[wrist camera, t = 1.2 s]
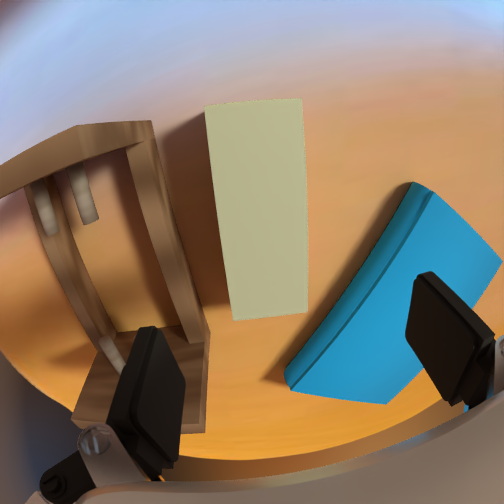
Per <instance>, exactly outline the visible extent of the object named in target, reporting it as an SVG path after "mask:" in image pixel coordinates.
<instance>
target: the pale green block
mask: <svg viewBox="0 0 504 504" xmlns="http://www.w3.org/2000/svg"><path fill="white" fill-rule="evenodd" d="M204 111H205V120H206V129H207V137H208V146H209V154H210V163H211V171H212V179H213V186H214V194H215V202H216V209H217V216H218V224H219V231H220V238H221V245H222V252H223V258H224V265H225V272H226V278H227V285H228V291H229V297H230V304H231V310H232V316H233V321H238V320H248V319H257V318H265V317H274V316H282V315H289V314H297V313H304V312H307V311H308V209H307V179H306V157H305V139H304V124H303V110H302V98H293V99H269V100H254V101H242V102H232V103H223V104H214V105H207V106H204Z"/></svg>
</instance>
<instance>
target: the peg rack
mask: <svg viewBox="0 0 504 504" xmlns="http://www.w3.org/2000/svg"><path fill="white" fill-rule="evenodd" d="M124 147H125V149H126V153H127V157H128V161H129V165H130V169H131V173H132V177H133V180H134V184H135V188H136V191H137V195H138V199H139V202H140V206H141V209H142V212H143V216H144V219H145V222H146V226H147V229H148V232H149V235H150V238H151V241H152V244H153V247H154V251H155V254H156V256H157V259H158V262H159V265H160V268H161V271H162V274H163V277H164V279H165V282H166V285H167V288H168V290H169V293H170V296H171V298H172V301H173V304H174V306H175V309H176V311H177V314H178V317H179V319H180V322H181V324H182V325H179V326H171V327H164V328H157V329H161V330H162V332H163V334H164V336H165V338H166V341H167V343H168V345H169V347H170V349H171V351H172V353H173V355H174V357H175V360H176V362H177V364H178V366H179V368H180V370H181V372H182V374H183V376H184V378H185V381H186V389H185V398H184V406H183V415H182V425H181V434H193V433H205V423H206V400H207V380H208V363H209V347H210V330H209V327H208V324H207V321H206V318H205V315H204V312H203V309H202V306H201V303H200V300H199V297H198V294H197V291H196V288H195V284H194V281H193V278H192V275H191V272H190V268H189V265H188V262H187V259H186V255H185V252H184V248H183V245H182V242H181V238H180V235H179V231H178V228H177V224H176V220H175V217H174V213H173V209H172V206H171V202H170V198H169V194H168V190H167V186H166V182H165V178H164V174H163V170H162V166H161V162H160V158H159V153H158V149H157V145H156V140H155V136H154V131H153V127H152V122H151V120H147V121H123V122H107V123H95V124H85V125H76V126H74V127H71V128H69V129H67V130H65V131H63V132H61V133H58V134H56V135H54V136H52V137H50V138H48V139H46V140H44V141H42V142H40V143H39V144H37V145H35V146H33V147H31V148H29V149H27V150H26V151H24V152H22V153H20V154H19V155H17V156H15V157H13V158H12V159H10V160H8V161H7V162H5V163H4V164H2V165H0V199H1V198H3V197H5V196H7V195H9V194H11V193H13V192H15V191H17V190H19V189H21V188H23V187H24V190H25V193H26V196H27V200H28V203H29V206H30V209H31V212H32V215H33V218H34V221H35V224H36V226H37V229H38V232H39V235H40V237H41V240H42V242H43V245H44V247H45V250H46V252H47V255H48V257H49V259H50V262H51V264H52V266H53V269H54V271H55V273H56V275H57V277H58V280H59V282H60V284H61V286H62V288H63V290H64V292H65V294H66V296H67V298H68V300H69V302H70V304H71V306H72V308H73V310H74V311H75V313H76V315H77V317H78V319H79V321H80V322H81V324H82V326H83V328H84V329H85V331H86V333H87V335H88V336H89V338H90V340H91V341H92V343H93V345H94V346H95V348H96V349H97V351H98V353H97V355H96V357H95V360H94V362H93V364H92V366H91V369H90V371H89V374H88V376H87V378H86V381H85V383H84V386H83V388H82V391H81V393H80V396H79V398H78V401H77V404H76V406H75V409H74V412H73V414H72V417H71V420H72V421H73V422H74V423H75V424H76V425H77V426H78V427H79V428H81V429H85V428H86V427H88V426H89V425H92V424H94V423H104V424H105V423H106V419H107V416H108V413H109V409H110V406H111V403H112V400H113V397H114V393H115V390H116V387H117V384H118V381H119V378H120V375H121V372H122V369H123V367H124V365H126V362H127V359H128V357H129V354H130V351H131V348H132V345H133V343H134V340H135V337H136V334H137V332H138V331H129V332H119V333H117V332H116V330H115V328H114V326H113V324H112V322H111V321H110V319H109V317H108V315H107V313H106V311H105V309H104V307H103V305H102V303H101V301H100V299H99V296H98V294H97V292H96V290H95V288H94V286H93V284H92V281H91V279H90V277H89V275H88V272H87V270H86V268H85V265H84V263H83V260H82V258H81V256H80V253H79V251H78V248H77V246H76V243H75V240H74V238H73V235H72V232H71V230H70V227H69V224H68V221H67V218H66V215H65V212H64V209H63V206H62V203H61V200H60V197H59V193H58V190H57V187H56V183H55V180H54V176H53V174H54V173H57V172H59V171H61V170H64V169H66V170H67V174H68V177H69V181H70V184H71V188H72V191H73V195H74V198H75V201H76V204H77V207H78V210H79V213H80V216H81V219H82V222H83V225H87V224H90V223H92V222H95V221H96V220H98V219H99V216H98V213H97V210H96V207H95V204H94V201H93V197H92V194H91V191H90V187H89V184H88V180H87V177H86V173H85V169H84V165H83V162H84V161H87V160H89V159H92V158H95V157H97V156H100V155H103V154H106V153H109V152H112V151H115V150H118V149H121V148H124Z"/></svg>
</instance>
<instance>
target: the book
mask: <svg viewBox="0 0 504 504" xmlns="http://www.w3.org/2000/svg"><path fill="white" fill-rule="evenodd" d="M502 262H503V261H502V260H501V259H500V257H499V256H498V255H497V254H496V253H495V252H494V251H493V249H492V248H491V247H490V246H489V245H488V244H487V243H486V242H485V241H484V240H483V239H482V237H481V236H480V235H479V234H478V233H477V232H476V231H475V230H474V229H473V228H472V227H471V226H470V225H469V224H468V223H467V222H466V221H465V220H464V219H463V218H462V217H461V216H460V215H459V214H458V213H457V212H456V211H455V210H453V209H452V208H451V207H450V206H449V205H448V204H447V203H446V202H445V201H444V200H443V199H441V198H440V197H439V196H438V195H437V194H436V193H435V192H433V191H431V190H429V189H428V188H426V187H424V186H422V185H421V184H418V183H416V182H412V184H411V186H410V188H409V190H408V191H407V193H406V195H405V197H404V199H403V200H402V202H401V204H400V206H399V207H398V209H397V211H396V212H395V214H394V216H393V218H392V219H391V221H390V223H389V224H388V226H387V228H386V229H385V231H384V232H383V234H382V236H381V237H380V239H379V241H378V242H377V244H376V245H375V247H374V248H373V250H372V252H371V253H370V255H369V256H368V258H367V259H366V261H365V262H364V264H363V265H362V267H361V268H360V270H359V271H358V273H357V274H356V276H355V277H354V279H353V280H352V282H351V283H350V284H349V286H348V287H347V289H346V290H345V292H344V293H343V294H342V296H341V297H340V299H339V300H338V302H337V303H336V304H335V306H334V307H333V308H332V310H331V311H330V313H329V314H328V315H327V317H326V318H325V319H324V321H323V322H322V323H321V325H320V326H319V327H318V329H317V330H316V331H315V332H314V334H313V335H312V336H311V338H310V339H309V340H308V341H307V343H306V344H305V345H304V347H303V348H302V349H301V350H300V352H299V353H298V354H297V355H296V356H295V358H294V359H293V360H292V361H291V363H290V364H289V365H288V366H287V367H286V369H285V371H284V378H285V381H286V383H287V384H288V386H289V387H290V390H291V391H295V392H300V393H305V394H311V395H317V396H323V397H329V398H336V399H343V400H350V401H358V402H367V403H376V404H387V403H388V402H389V401H390V400H392V399H393V398H394V397H395V396H396V395H397V394H398V393H399V392H400V391H401V390H402V389H403V388H404V387H405V386H406V385H407V384H408V383H409V382H410V381H411V380H412V379H413V378H414V377H415V376H416V375H417V374H418V373H419V372H420V371H421V370H422V369H423V368H424V367H423V365H422V364H421V362H420V361H419V359H418V358H417V356H416V354H415V353H414V351H413V350H412V348H411V347H410V345H409V344H408V342H407V341H406V338H405V329H406V324H407V319H408V313H409V307H410V301H411V295H412V288H413V282H414V280H415V279H416V277H417V275H418V274H421V273H425V272H428V271H432V272H434V273H435V274H436V275H437V276H438V277H439V278H440V279H441V280H442V281H443V282H445V283H446V284H447V285H448V286H449V287H450V288H451V289H452V290H453V291H454V292H455V293H456V294H457V295H458V296H459V297H460V298H461V299H462V300H463V301H464V302H465V303H466V304H467V305H468V306H469V307H470V308H471V309H472V308H473V307H474V305H475V304H476V303H477V301H478V300H479V298H480V297H481V295H482V294H483V292H484V291H485V289H486V288H487V286H488V285H489V283H490V282H491V280H492V278H493V277H494V275H495V274H496V272H497V270H498V269H499V267H500V265H501V263H502Z"/></svg>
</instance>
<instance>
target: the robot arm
mask: <svg viewBox="0 0 504 504" xmlns="http://www.w3.org/2000/svg"><path fill="white" fill-rule="evenodd" d="M494 336H495V334H494V332H493V331H492V330H491V329H490V328H489V327H488V326H487V325H486V324H485V323H484V322H483V320H482V319H481V318H480V317H479V316H478V315H477V314H476V313H475V312H474V311H473V310H472V309H471V308H470V307H469V306H468V305H467V304H466V303H465V302H464V301H463V300H462V299H461V298H460V297H459V296H458V295H457V294H456V293H455V292H454V291H453V290H452V289H451V288H450V287H449V286H448V285H447V284H446V283H445V282H443V281H442V280H441V279H440V278H439V277H438V276H437V275H436V274H435V273H434V272H432V271H428V272H425V273H421V274H418V275H417V277H416V279H415V280H414V282H413V288H412V295H411V301H410V307H409V313H408V319H407V324H406V329H405V338H406V341H407V342H408V344H409V345H410V347H411V348H412V350H413V351H414V353H415V354H416V356H417V358H418V359H419V361H420V362H421V364H422V365H423V367H424V368H425V370H426V372H427V373H428V375H429V376H430V378H431V380H432V381H433V383H434V385H435V386H436V388H437V390H438V391H439V393H440V395H441V396H442V398H443V399H444V400H445V401H448V402H449V404H450V405H451V406H453V405H455V404H457V403H459V402H461V401H462V400H463V401H464V403H465V408H464V413H463V414H461V415H459V416H457V417H455V418H453V419H451V420H449V421H447V422H445V423H443V424H441V425H439V426H437V427H435V428H433V429H431V430H429V431H426V432H424V433H422V434H420V435H418V436H415V437H413V438H410V439H408V440H405V441H403V442H401V443H398V444H395V445H392V446H390V447H387V448H384V449H382V450H379V451H376V452H373V453H370V454H367V455H363V456H360V457H357V458H353V459H350V460H347V461H343V462H339V463H336V464H331V465H327V466H324V467H319V468H314V469H310V470H304V471H299V472H294V473H288V474H282V475H276V476H269V477H261V478H252V479H242V480H227V481H208V482H165V481H164V479H163V478H162V477H161V476H160V475H161V474H162V468H166V469H173V465H174V462H176V461H177V460H178V456H179V445H180V434H181V425H182V415H183V406H184V398H185V389H186V381H185V378H184V376H183V374H182V372H181V370H180V368H179V366H178V364H177V362H176V360H175V357H174V355H173V353H172V351H171V349H170V347H169V345H168V343H167V341H166V338H165V336H164V334H163V332H162V330H161V329H157V328H156V327H155V326H149V327H140V328H139V329H138V332H137V334H136V337H135V340H134V343H133V345H132V348H131V351H130V354H129V357H128V359H127V362H126V365H124V367H123V369H122V372H121V375H120V378H119V381H118V384H117V387H116V390H115V393H114V397H113V400H112V403H111V406H110V409H109V413H108V416H107V419H106V423H105V424H104V423H94V424H92V425H89V426H88V427H86V428H85V429H84V430H83V431H82V433H81V434H80V436H79V439H78V449H79V450H78V451H76V452H75V453H73V454H72V455H70V456H69V457H67V458H66V459H64V460H63V461H61V462H60V463H58V464H56V465H55V466H53V467H52V468H50V469H48V470H47V471H46V472H45V473H44V474H43V475H42V477H41V480H40V492H37V491H35V492H34V494H33V495H32V496H31V497H30V498H29V499H28V501H27V502H26V503H25V504H504V335H502V336H500V337H499V338H498V339H497V341H495V339H494Z"/></svg>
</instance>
